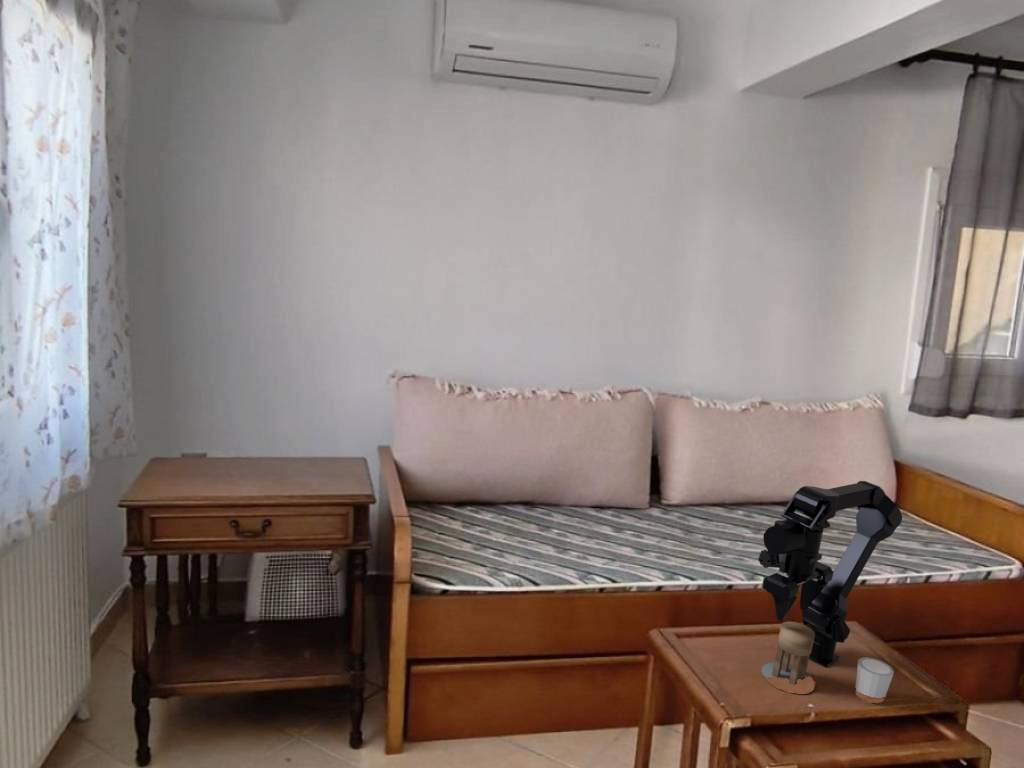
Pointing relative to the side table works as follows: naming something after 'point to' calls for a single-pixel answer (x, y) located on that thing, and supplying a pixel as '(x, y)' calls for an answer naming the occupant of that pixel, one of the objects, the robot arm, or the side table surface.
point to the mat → (768, 670)
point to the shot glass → (873, 677)
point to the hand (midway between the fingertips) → (791, 614)
